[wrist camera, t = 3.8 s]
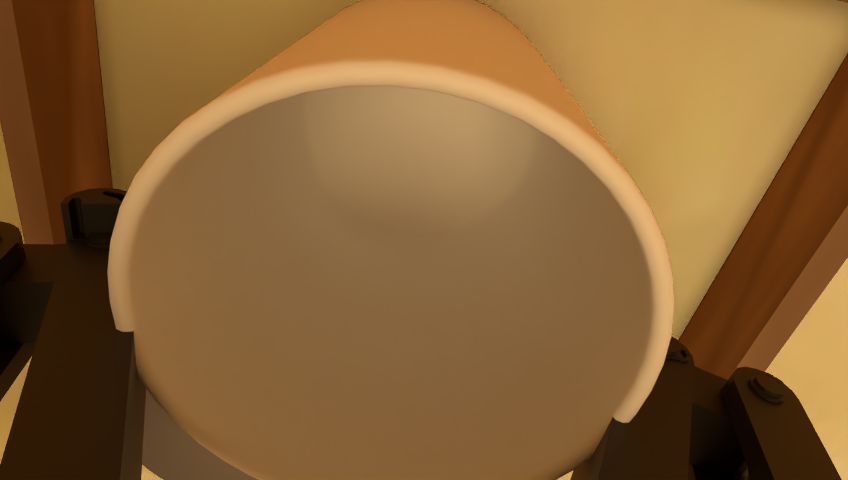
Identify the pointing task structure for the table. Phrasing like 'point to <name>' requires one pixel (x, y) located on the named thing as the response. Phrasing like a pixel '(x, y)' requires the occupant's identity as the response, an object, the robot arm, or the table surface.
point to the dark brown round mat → (179, 451)
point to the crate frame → (704, 336)
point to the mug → (394, 260)
